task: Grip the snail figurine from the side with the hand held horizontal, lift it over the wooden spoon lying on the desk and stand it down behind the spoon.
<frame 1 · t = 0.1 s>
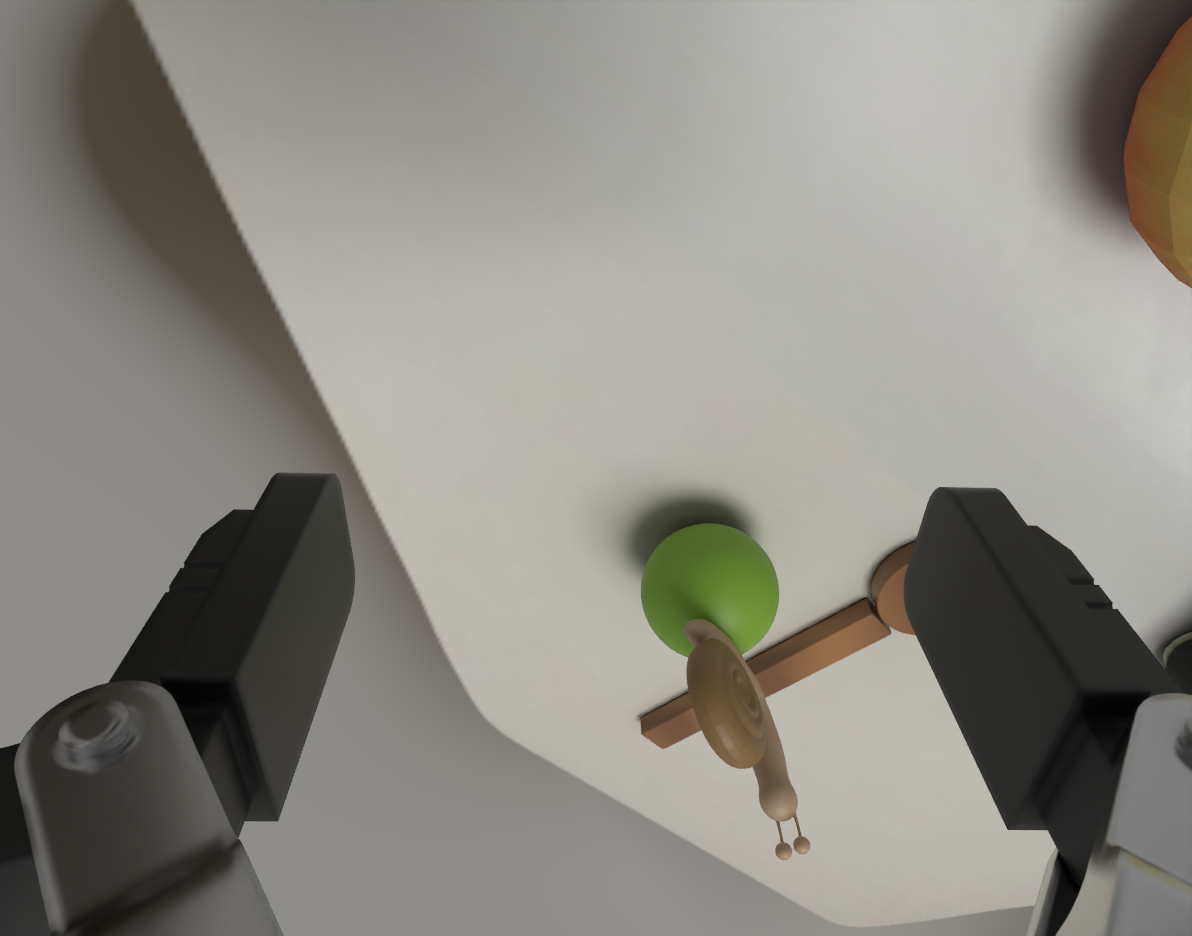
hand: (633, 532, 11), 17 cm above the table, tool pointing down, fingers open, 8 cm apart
snail figurine: (706, 549, 35), on the table
spoon: (806, 643, 39), on the table
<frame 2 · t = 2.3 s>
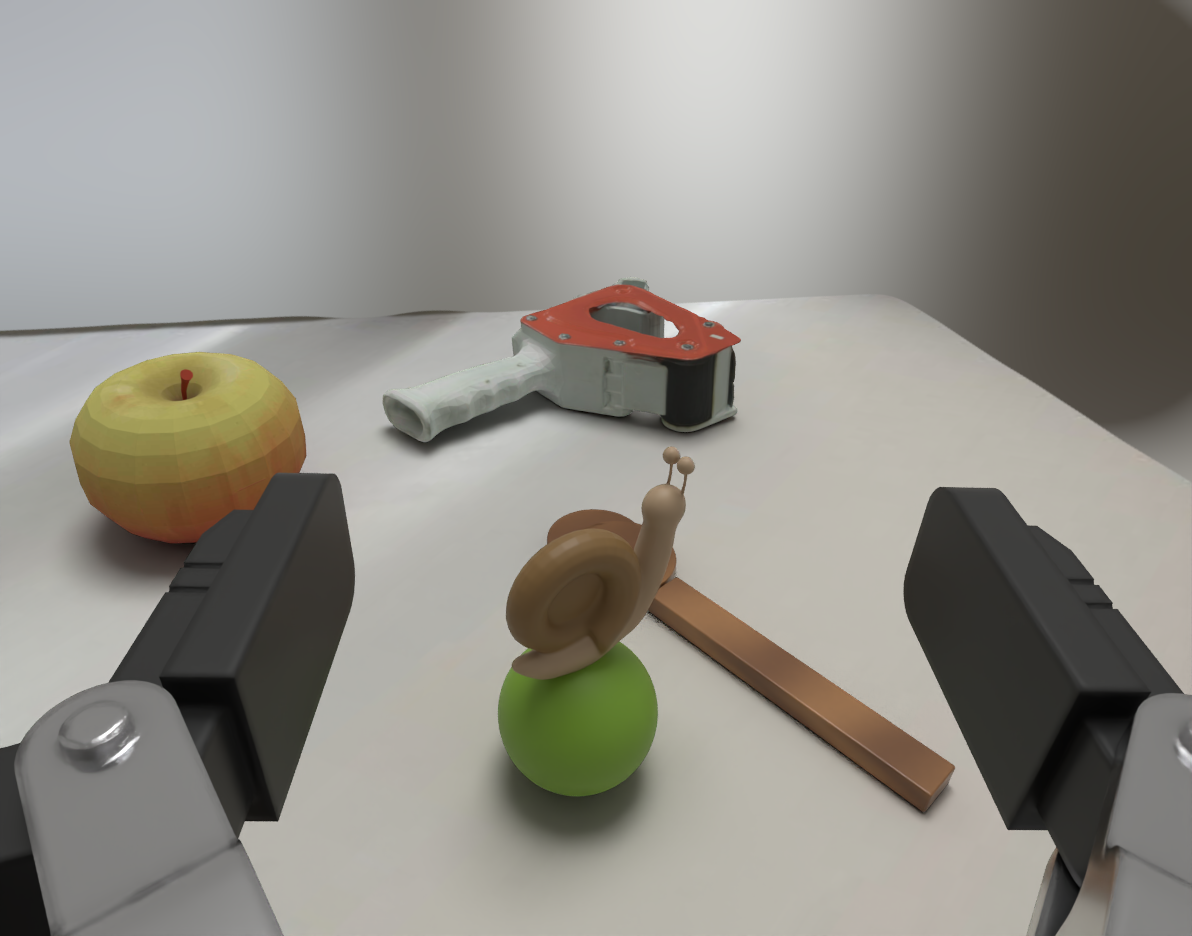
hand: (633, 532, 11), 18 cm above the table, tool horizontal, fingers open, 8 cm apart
tape dispenser: (577, 398, 52), on the table
snail figurine: (587, 757, 30), on the table
spoon: (725, 647, 34), on the table
apple: (213, 513, 41), on the table
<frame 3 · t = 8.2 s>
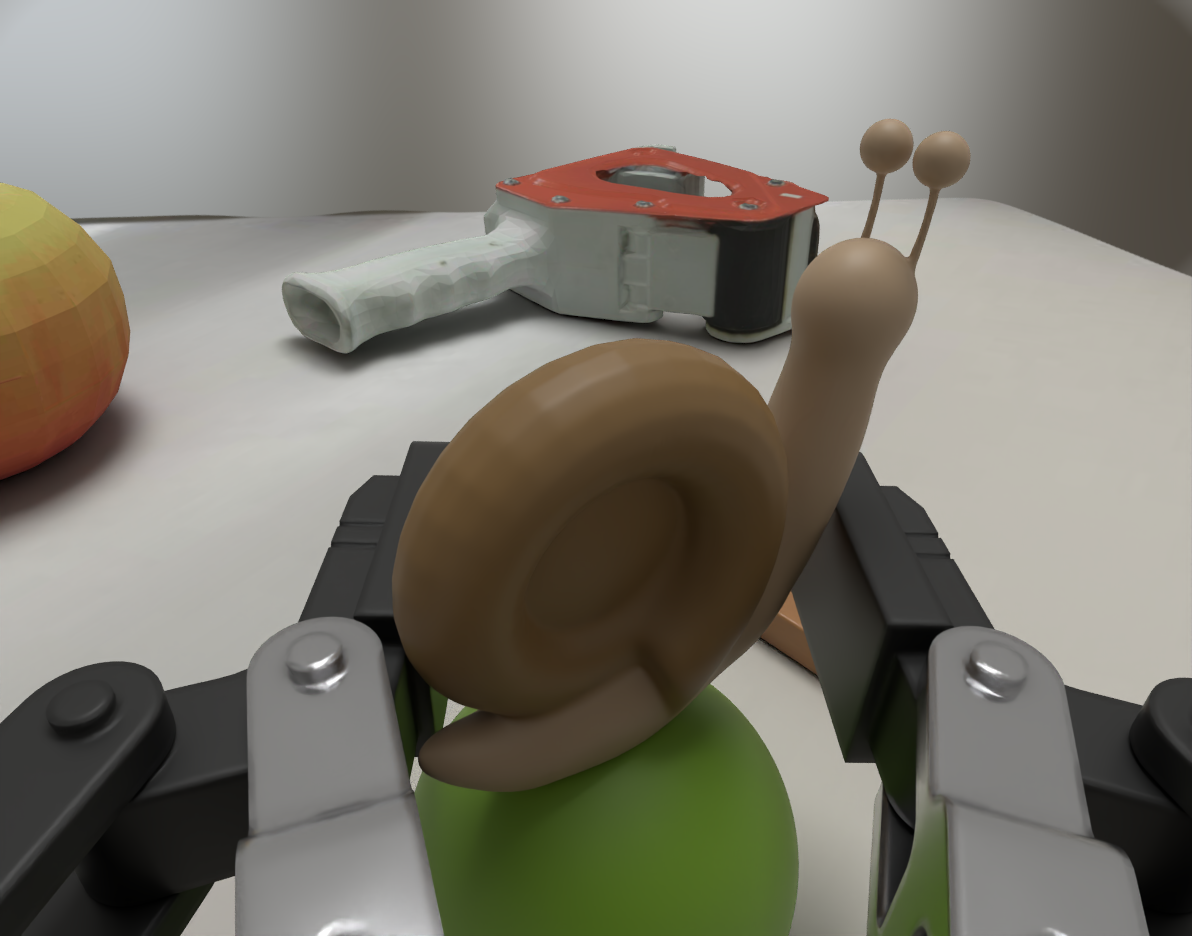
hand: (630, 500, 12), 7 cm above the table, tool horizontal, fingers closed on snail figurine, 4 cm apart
tape dispenser: (580, 304, 36), on the table
snail figurine: (615, 931, 13), on the table, touching gripper
spoon: (871, 677, 18), on the table
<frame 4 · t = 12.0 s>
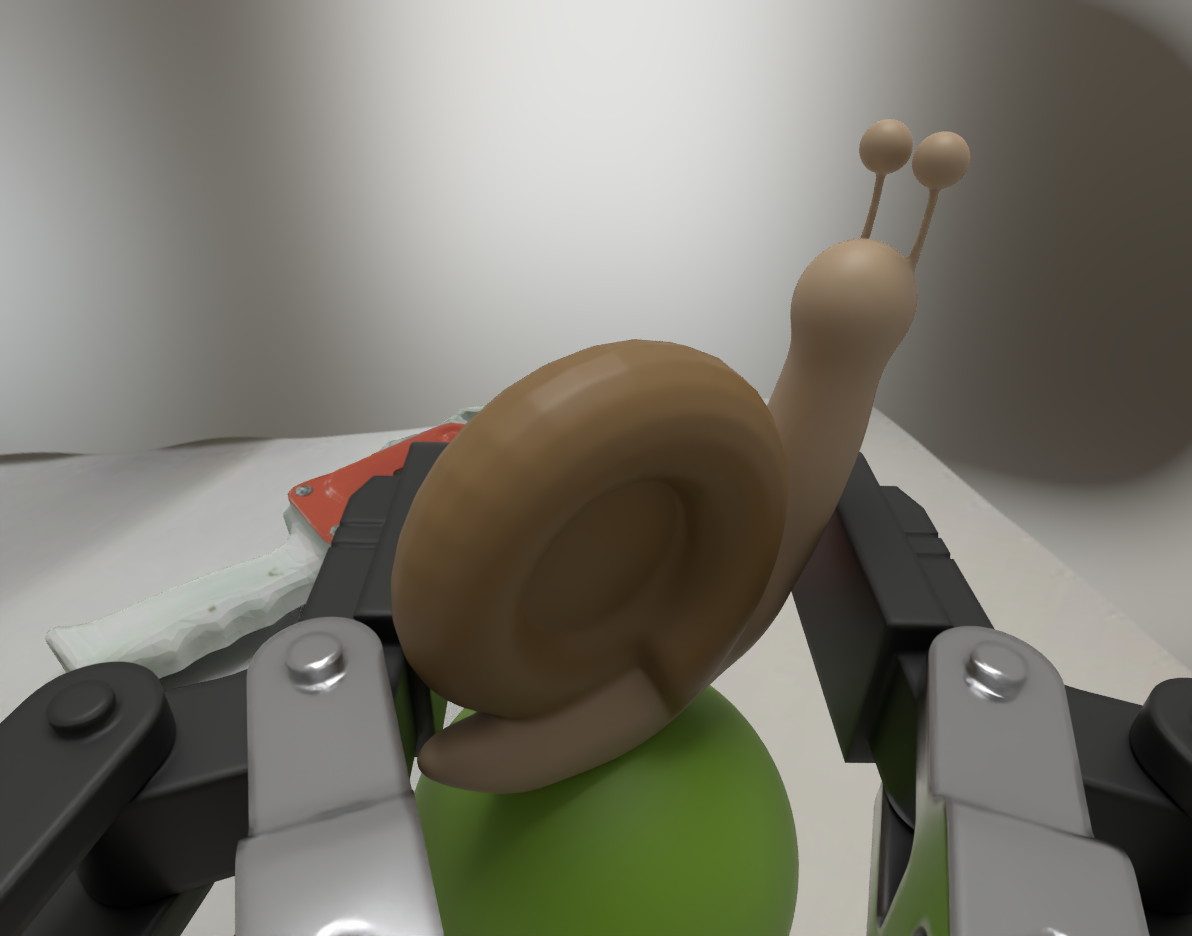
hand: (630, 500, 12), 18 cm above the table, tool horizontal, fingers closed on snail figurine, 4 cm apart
tape dispenser: (383, 598, 36), on the table
snail figurine: (615, 933, 13), point 11 cm above the table, touching gripper
when the fingers open (7 cm above the table, at t = 16.3 s): snail figurine moves 2 cm, on the table.
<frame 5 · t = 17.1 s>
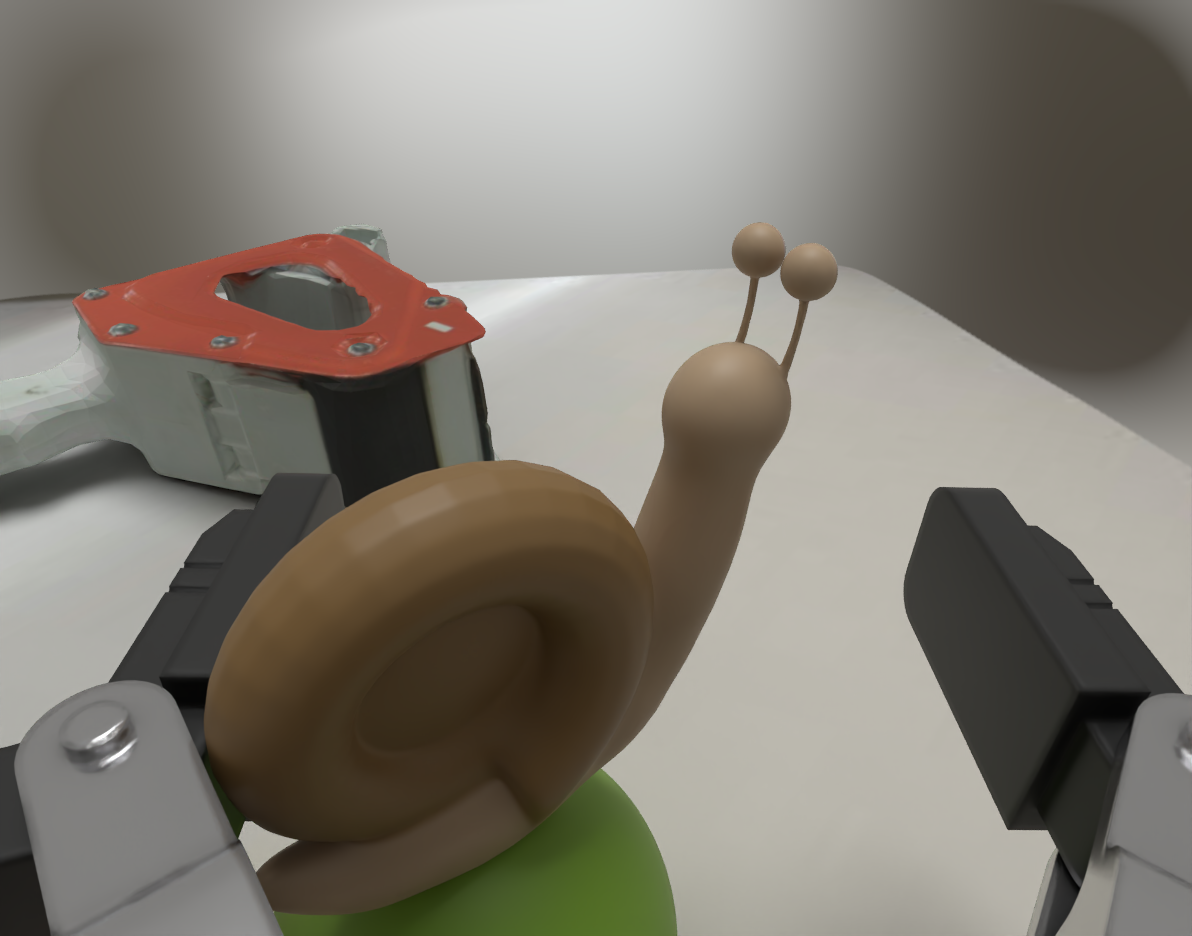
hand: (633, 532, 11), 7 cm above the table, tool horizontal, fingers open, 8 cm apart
tape dispenser: (213, 451, 27), on the table
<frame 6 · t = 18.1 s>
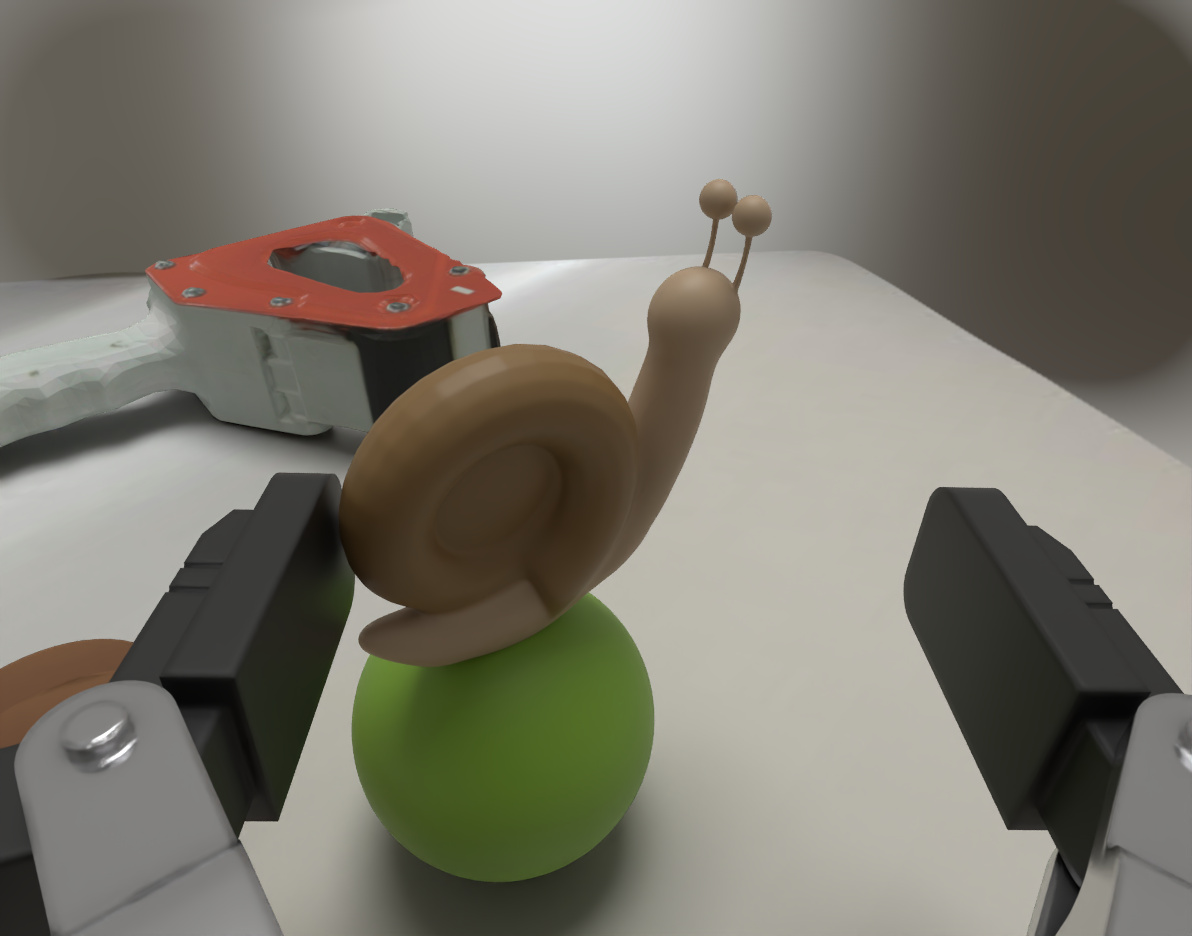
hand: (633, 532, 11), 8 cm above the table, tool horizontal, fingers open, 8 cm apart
tape dispenser: (263, 403, 31), on the table
snail figurine: (522, 789, 17), on the table
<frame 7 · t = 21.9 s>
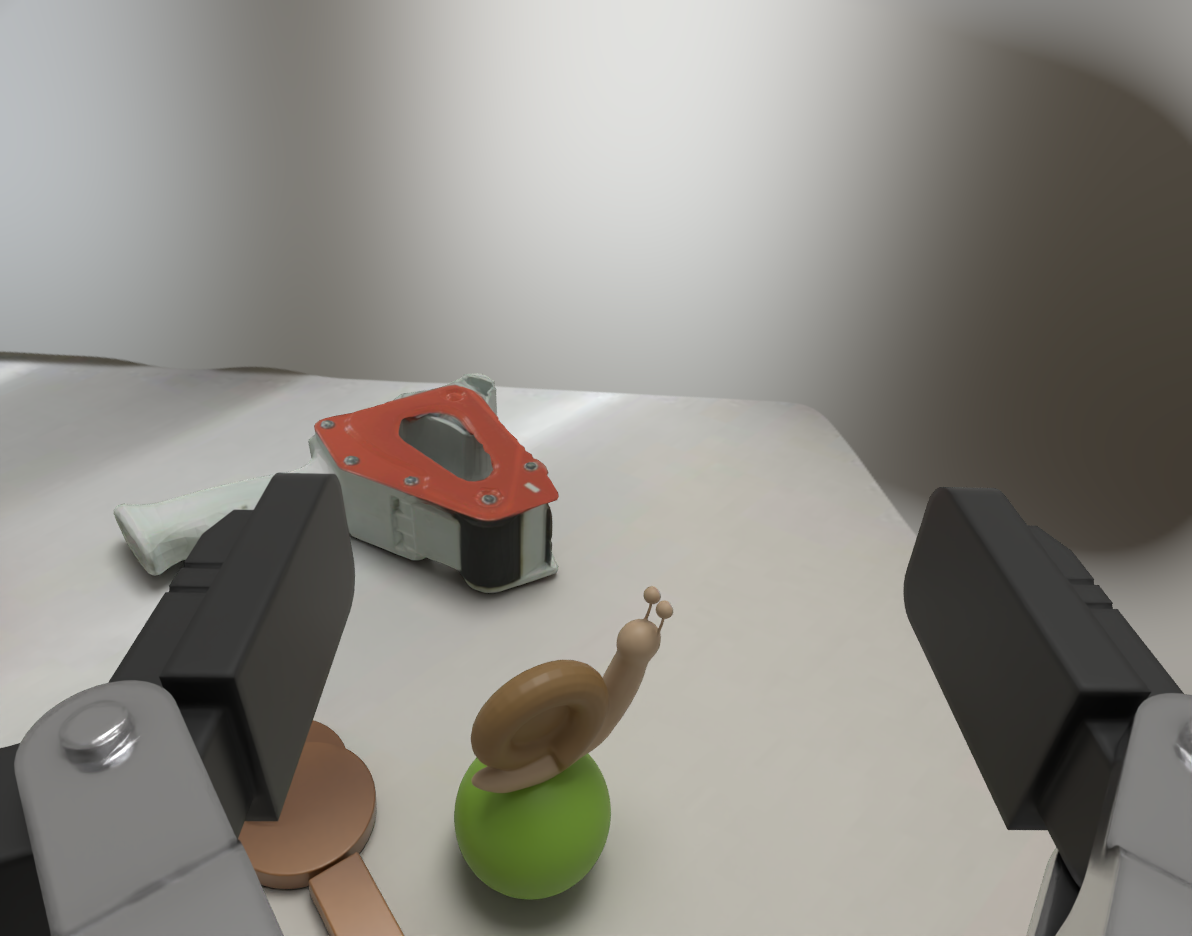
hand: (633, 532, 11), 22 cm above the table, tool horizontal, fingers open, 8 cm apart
tape dispenser: (379, 520, 44), on the table
snail figurine: (537, 848, 31), on the table
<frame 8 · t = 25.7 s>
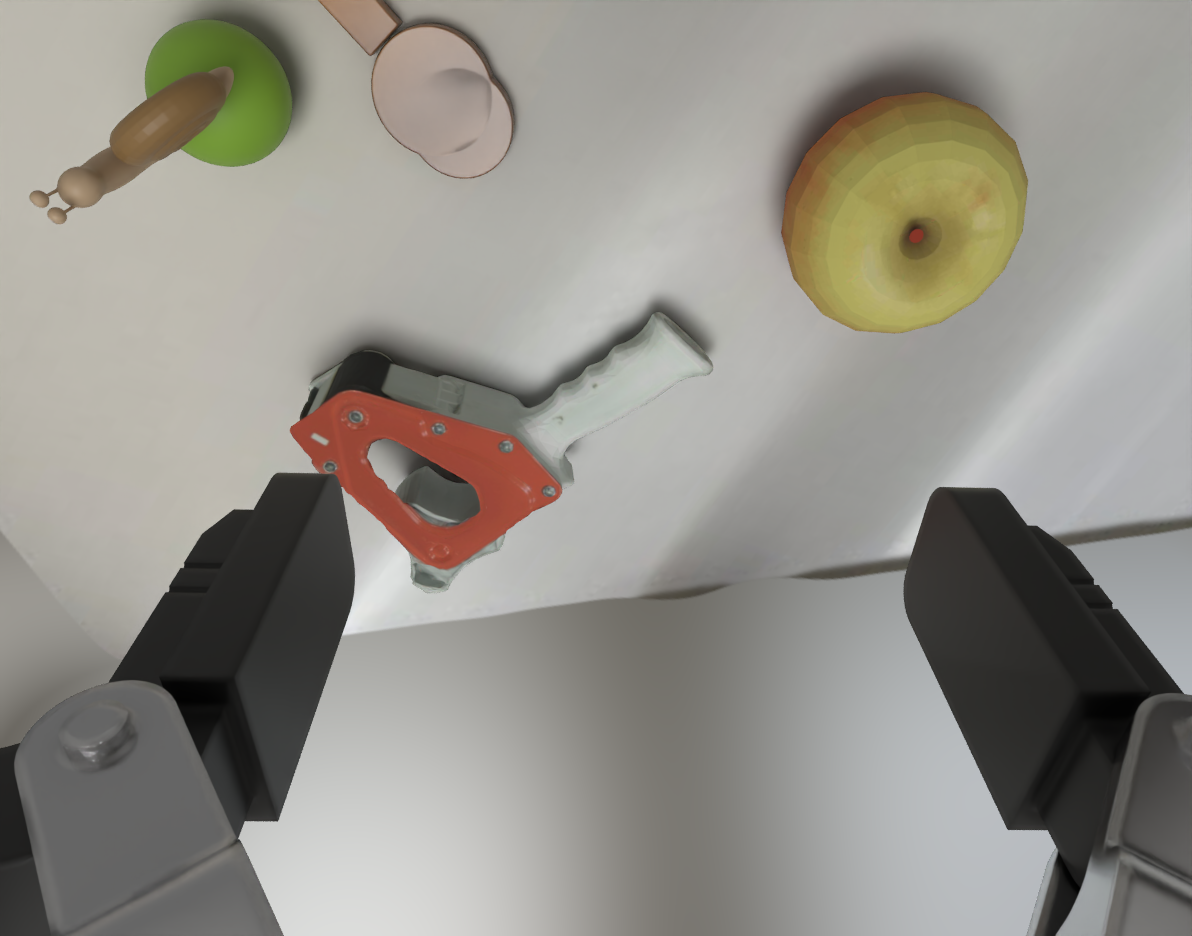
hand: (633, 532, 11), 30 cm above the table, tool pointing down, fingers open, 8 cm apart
tape dispenser: (498, 421, 45), on the table
snail figurine: (237, 91, 36), on the table
apple: (871, 192, 39), on the table
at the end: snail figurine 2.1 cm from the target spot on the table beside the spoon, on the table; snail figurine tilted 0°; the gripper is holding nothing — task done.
